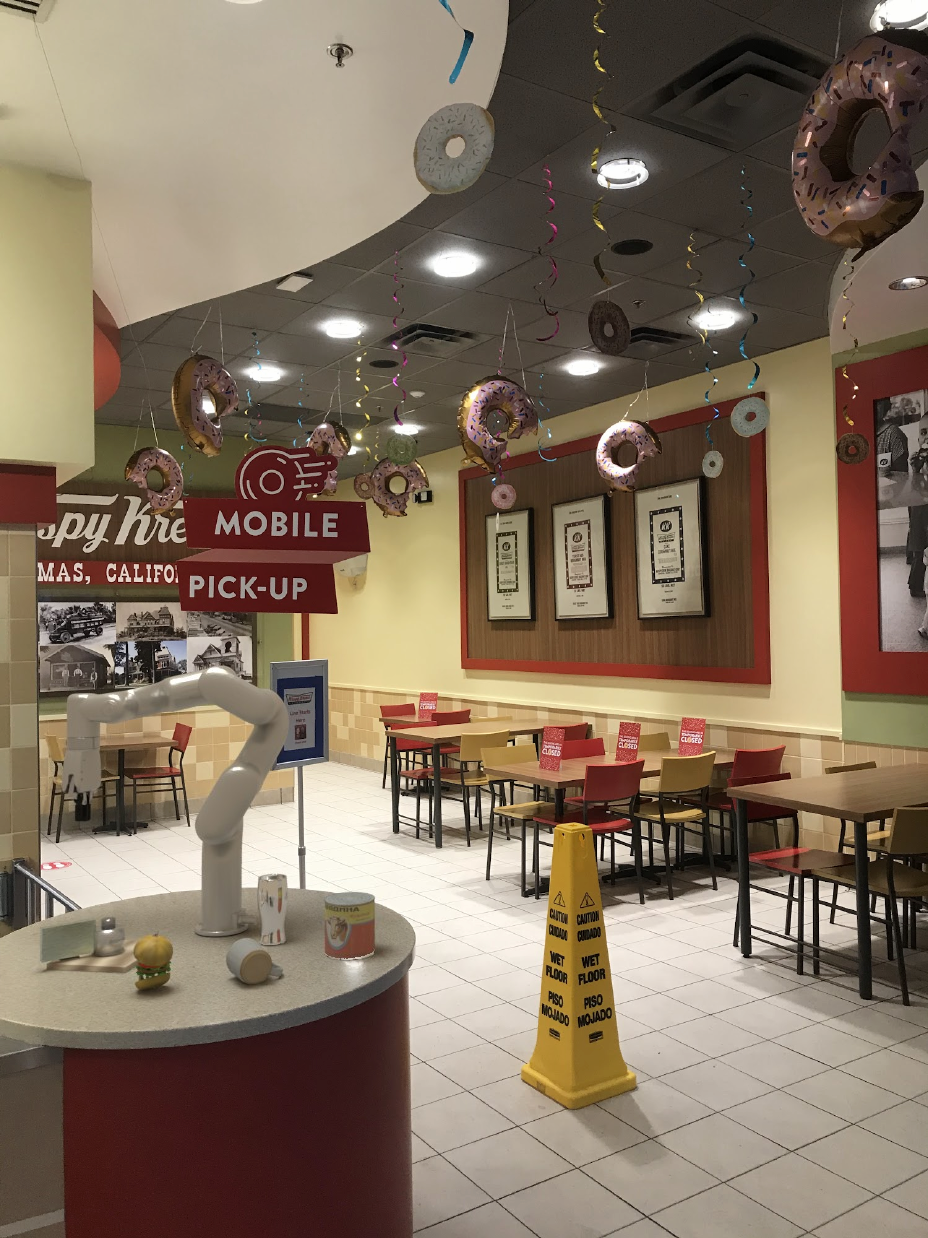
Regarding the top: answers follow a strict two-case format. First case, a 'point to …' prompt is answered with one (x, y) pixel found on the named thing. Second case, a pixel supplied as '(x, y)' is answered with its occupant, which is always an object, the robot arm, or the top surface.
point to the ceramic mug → (251, 962)
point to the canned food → (349, 924)
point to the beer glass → (272, 907)
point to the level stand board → (99, 961)
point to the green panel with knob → (81, 939)
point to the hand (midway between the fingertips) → (82, 820)
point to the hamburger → (153, 961)
